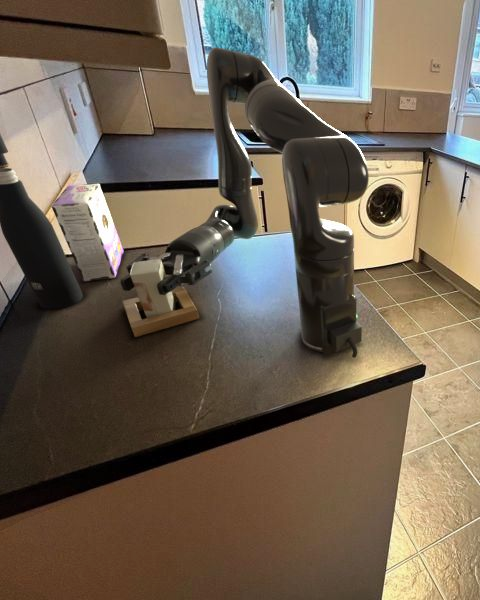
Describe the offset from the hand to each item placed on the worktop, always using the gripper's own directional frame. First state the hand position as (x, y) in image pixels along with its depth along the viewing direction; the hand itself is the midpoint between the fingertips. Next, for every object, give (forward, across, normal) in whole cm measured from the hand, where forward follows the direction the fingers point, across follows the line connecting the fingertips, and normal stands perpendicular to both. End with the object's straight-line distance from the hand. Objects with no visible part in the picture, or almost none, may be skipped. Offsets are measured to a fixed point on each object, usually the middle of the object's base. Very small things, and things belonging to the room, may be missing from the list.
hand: (142, 288), depth 64 cm
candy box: (-17, -23, +7) cm, 30 cm away
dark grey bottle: (-3, -20, +7) cm, 22 cm away
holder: (-2, 0, +7) cm, 7 cm away
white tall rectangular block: (-2, 0, +7) cm, 8 cm away
